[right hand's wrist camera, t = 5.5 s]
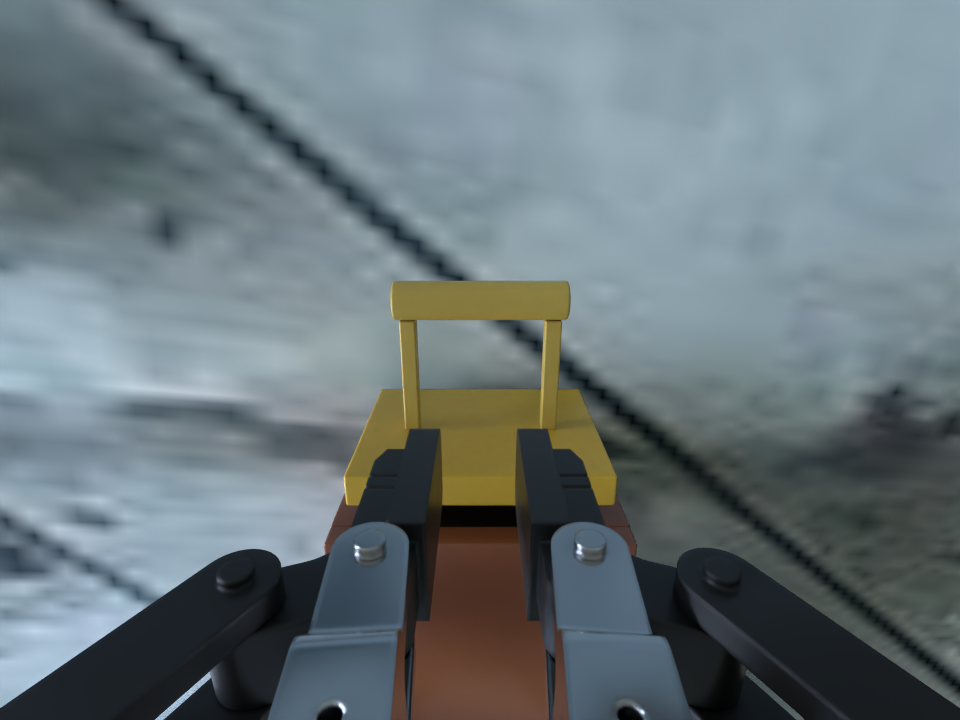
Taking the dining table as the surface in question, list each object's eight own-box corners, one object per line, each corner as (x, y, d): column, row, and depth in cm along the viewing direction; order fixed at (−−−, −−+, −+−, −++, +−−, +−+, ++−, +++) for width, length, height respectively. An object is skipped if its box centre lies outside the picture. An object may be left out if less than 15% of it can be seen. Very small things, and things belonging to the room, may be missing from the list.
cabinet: (375, 416, 26) (322, 544, 17) (585, 416, 26) (638, 544, 17) (397, 698, 33) (368, 889, 24) (562, 698, 33) (592, 889, 24)
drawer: (372, 262, 22) (323, 306, 15) (588, 262, 22) (637, 307, 15) (402, 676, 31) (380, 822, 24) (558, 676, 31) (580, 822, 24)
